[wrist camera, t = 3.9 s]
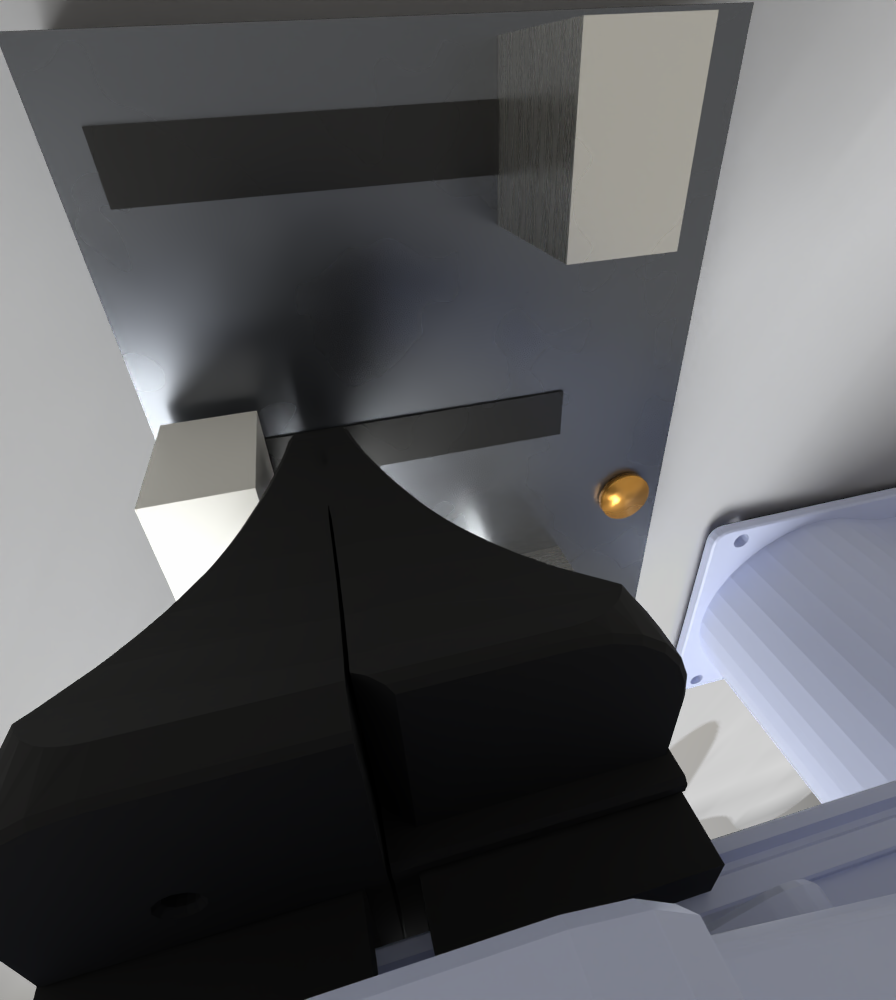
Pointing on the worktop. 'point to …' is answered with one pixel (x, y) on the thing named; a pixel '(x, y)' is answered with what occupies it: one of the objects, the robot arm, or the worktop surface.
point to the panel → (409, 240)
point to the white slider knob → (201, 491)
